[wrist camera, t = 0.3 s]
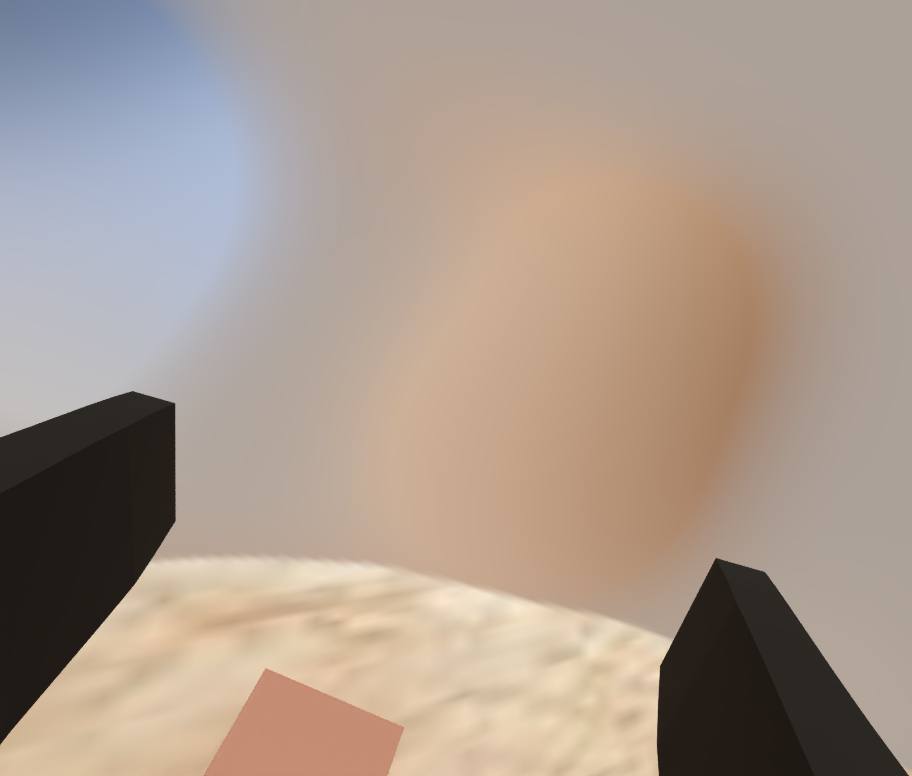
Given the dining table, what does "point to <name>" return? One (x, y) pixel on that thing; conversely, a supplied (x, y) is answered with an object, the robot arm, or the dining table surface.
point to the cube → (304, 735)
